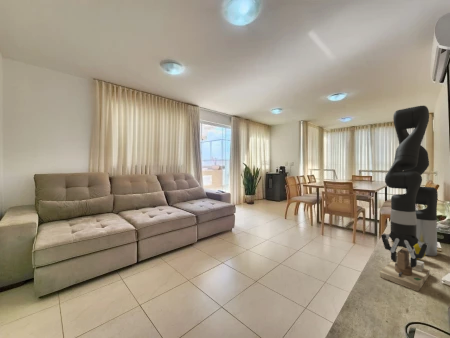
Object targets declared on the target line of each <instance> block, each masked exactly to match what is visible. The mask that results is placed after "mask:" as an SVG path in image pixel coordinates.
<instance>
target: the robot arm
mask: <svg viewBox="0 0 450 338" xmlns="http://www.w3.org/2000/svg"><path fill="white" fill-rule="evenodd" d="M392 119H393V125H394V129H395V132H396V137H397V140H398V144H399V145H398V146H397V148H396V150H395V154H394V160H393V163H392V165H391V166H390V167H389V169H388V171H387V173H386V174H385V177H384V182H385V184H386V186H387V187H388V188H390V189H397V190H399V189H400V190H402V189H403V190H405V193H401V194H400V193H399V194H393V195H392V196H391V198H390V204H391V205H390V208H391V209H390V215H389V216H390V218H389V219H390V220H389V221H390V231H389V232H390V233H387V234H386V233H381V235H380V237H381V240H382V244H383V247H384V249H385V250H387V251H389V252H390V259H391V261H393V262H396V261H397V252H398V251H397V250H398V247H399V248H400V247H401V248H405V249H408V252H409V256H410V258H411V267H412V268H414V267H415V266H416V265H417V260H422V259H423V258H424V257H425V256H431V257H432V256H434V257H435V256H438V226H437V225H438V200H439V197H438V196H439V195H438V189H437V188H435V187H434V186H433V187H432V186H421V185H422V182H423V176H422V175H423V174H424V173H425V172H426V171H427V169H428V167H430V160H429V153H428V150H427V149H426V148H425V146H423V145H421V144H422V143H423V139H424V136H425V134H426V131H427V127H428V126H429V122H430V112H429V108H428V107H427V106H426V105H416V106H412V107H407V108H402V109H398V110H396V111H394V113H393V118H392ZM409 129H413V130H412V131H411V132H410V134H409V131H408V130H409ZM416 205H421V206H426V207H425V208H423V209H417V210H416ZM389 240H392V242H393V243H392V246H391V245H390V242H389ZM417 243H418V244H419V247H420V248H421V249H420V252H419V254H416V252H415V248H414V245H415V244H417ZM425 252H426V254H425ZM424 254H425V256H424ZM423 256H424V257H423ZM417 258H419V259H417Z"/></svg>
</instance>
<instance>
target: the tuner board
mask: <svg viewBox="0 0 450 338" xmlns="http://www.w3.org/2000/svg"><path fill="white" fill-rule="evenodd" d="M395 263H397V261H396V262H393V260H391V261H390V262H389V263H388V264H387V265H386V266H385V267H383V269H381V270H380V271H379V277H380V278H382V279H384V280H387V281H390V282H393V283H395V284H398V285H401V286H403V287H406V288H408V289H411V290H413V291H416V292H419V291H420V289H422V287H423V285H424V284H425V283H426V281H427V279H428V277H429V276H430V270H431V269H429V268H426V267H425V262H424V261H421V260H419V259H417V265H416V266H415V267H414V268H412V275H411V276H407V275H403V274H402V275H401V276H399V273H398V272H396V271H395ZM409 266H411V257H409Z"/></svg>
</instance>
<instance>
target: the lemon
mask: <svg viewBox="0 0 450 338" xmlns="http://www.w3.org/2000/svg"><path fill="white" fill-rule="evenodd" d="M414 248H415V252H416V254H419V252H420V249H421V248H420V247H419V244H418V243H417V244H415V245H414ZM425 254H426V252H425ZM425 254H424V256H423V258H425V257H426V255H425ZM417 260H420V259H419V258H417Z"/></svg>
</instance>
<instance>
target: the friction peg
mask: <svg viewBox="0 0 450 338" xmlns="http://www.w3.org/2000/svg"><path fill="white" fill-rule="evenodd" d="M396 252H397V263H395V271H396V272H398V273H399V276H401V275H402V274H403V275H407V276H411V275H412V267H411V266H409V258H410V253H409V252H408V249H407V248H404V247H401V249H399V250H398V251H396Z"/></svg>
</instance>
